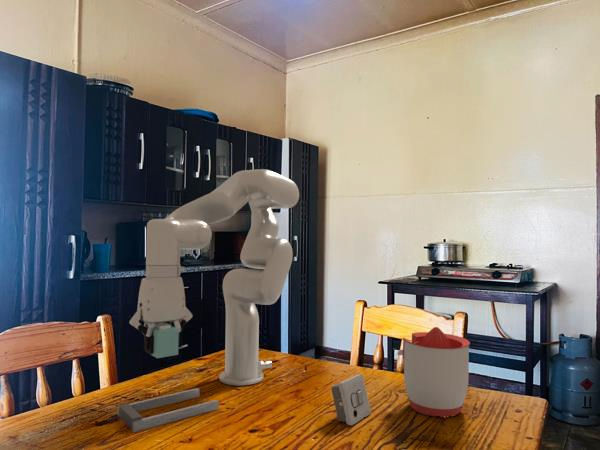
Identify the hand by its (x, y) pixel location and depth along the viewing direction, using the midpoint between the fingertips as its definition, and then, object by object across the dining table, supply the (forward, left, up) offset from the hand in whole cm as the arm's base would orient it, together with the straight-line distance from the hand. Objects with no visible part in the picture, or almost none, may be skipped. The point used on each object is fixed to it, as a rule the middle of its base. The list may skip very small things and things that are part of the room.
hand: (161, 349), depth 104 cm
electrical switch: (-34, +28, -15) cm, 47 cm away
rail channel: (-2, 0, -15) cm, 15 cm away
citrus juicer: (-54, +36, -15) cm, 67 cm away
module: (0, 0, -1) cm, 1 cm away
